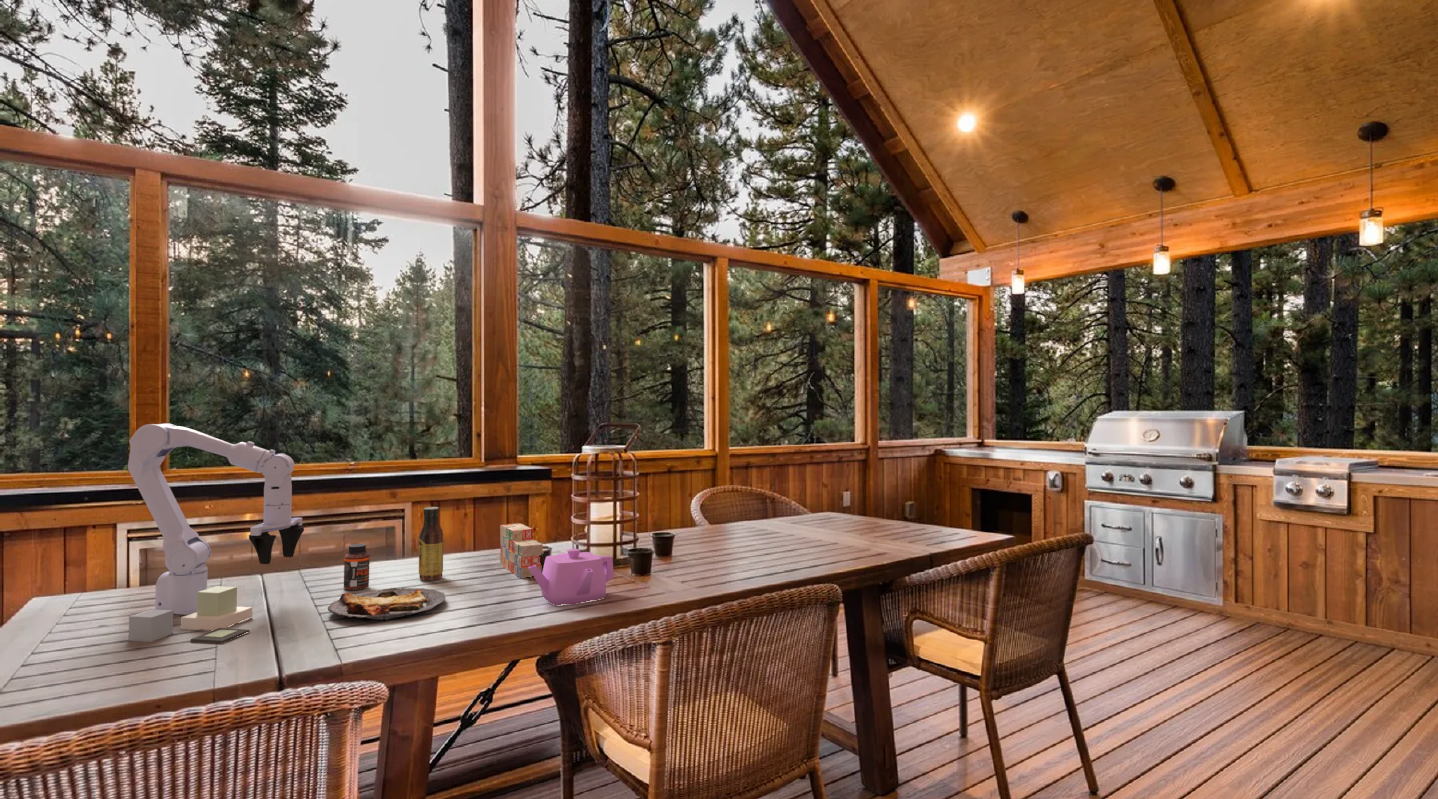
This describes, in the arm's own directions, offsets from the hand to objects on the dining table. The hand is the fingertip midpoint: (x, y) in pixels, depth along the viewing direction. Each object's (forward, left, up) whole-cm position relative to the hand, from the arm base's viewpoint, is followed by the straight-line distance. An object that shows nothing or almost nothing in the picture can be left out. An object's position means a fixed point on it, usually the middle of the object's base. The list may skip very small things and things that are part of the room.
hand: (276, 560), depth 169 cm
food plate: (+29, 0, -11) cm, 31 cm away
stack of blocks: (+44, +42, -11) cm, 62 cm away
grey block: (-7, -26, -10) cm, 29 cm away
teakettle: (+69, +15, -11) cm, 71 cm away
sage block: (-1, -16, -8) cm, 18 cm away
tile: (+7, -24, -10) cm, 27 cm away
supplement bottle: (+10, +16, -11) cm, 22 cm away
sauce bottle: (+24, +28, -11) cm, 38 cm away
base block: (-1, -16, -11) cm, 19 cm away
